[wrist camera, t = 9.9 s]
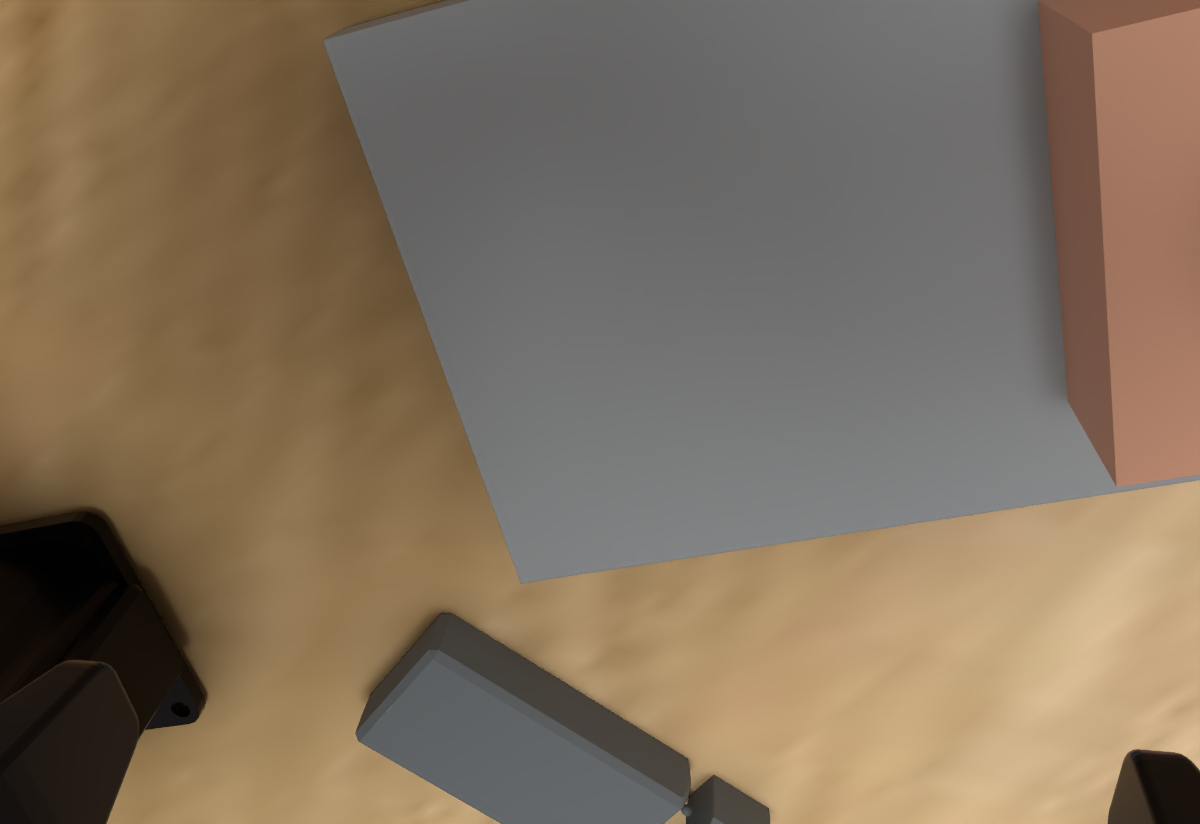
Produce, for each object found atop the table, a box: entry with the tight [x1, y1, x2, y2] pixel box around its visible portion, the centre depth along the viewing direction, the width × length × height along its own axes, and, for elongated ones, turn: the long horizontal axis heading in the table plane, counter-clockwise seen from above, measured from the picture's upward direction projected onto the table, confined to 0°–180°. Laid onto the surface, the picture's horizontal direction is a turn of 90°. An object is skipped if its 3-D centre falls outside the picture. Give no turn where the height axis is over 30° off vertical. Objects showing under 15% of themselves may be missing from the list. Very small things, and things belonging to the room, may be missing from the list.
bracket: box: [356, 613, 770, 824], centre depth 28 cm, size 4×10×2 cm, turn 54°
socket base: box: [323, 0, 1200, 583], centre depth 19 cm, size 19×12×4 cm, turn 105°
